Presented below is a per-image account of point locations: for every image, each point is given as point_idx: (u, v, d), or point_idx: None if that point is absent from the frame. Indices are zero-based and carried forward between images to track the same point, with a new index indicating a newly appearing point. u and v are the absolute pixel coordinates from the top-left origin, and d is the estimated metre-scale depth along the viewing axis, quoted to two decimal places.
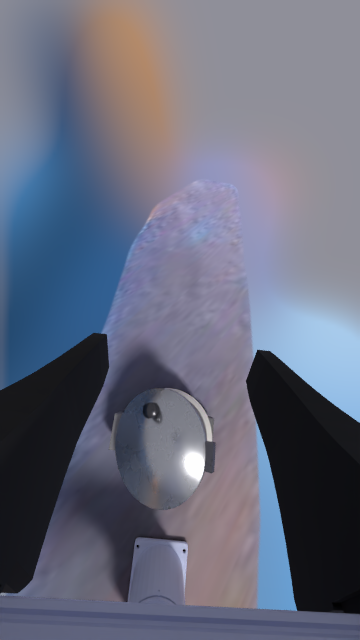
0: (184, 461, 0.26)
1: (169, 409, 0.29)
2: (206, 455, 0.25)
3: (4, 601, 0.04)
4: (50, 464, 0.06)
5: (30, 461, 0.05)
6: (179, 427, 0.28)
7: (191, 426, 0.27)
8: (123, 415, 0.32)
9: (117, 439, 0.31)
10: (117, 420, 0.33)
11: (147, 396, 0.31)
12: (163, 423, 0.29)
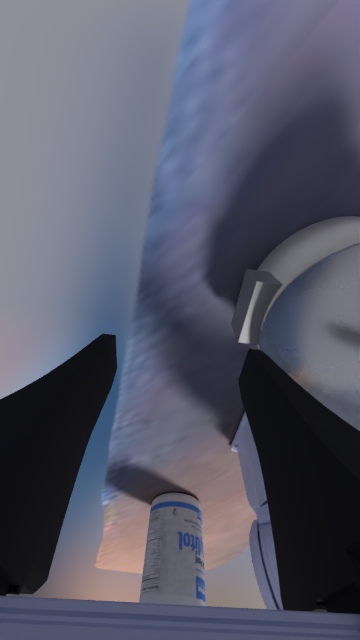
0: None
1: None
2: None
3: (4, 601, 0.04)
4: (64, 465, 0.06)
5: (47, 462, 0.05)
6: None
7: None
8: (289, 291, 0.13)
9: (265, 334, 0.15)
10: (260, 295, 0.15)
11: None
12: None
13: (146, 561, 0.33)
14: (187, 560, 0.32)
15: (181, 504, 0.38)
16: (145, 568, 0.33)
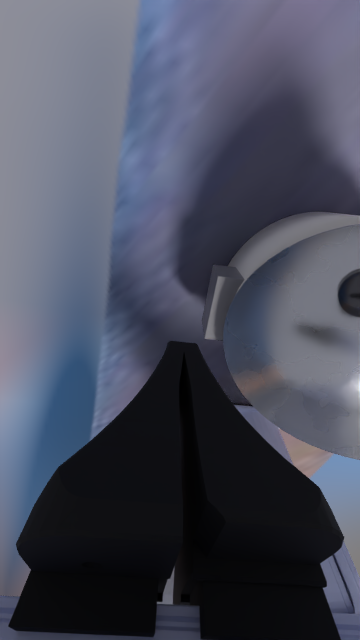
0: None
1: None
2: None
3: (4, 601, 0.04)
4: None
5: None
6: None
7: None
8: (247, 286, 0.13)
9: (228, 329, 0.15)
10: (223, 290, 0.15)
11: (349, 246, 0.10)
12: None
13: None
14: None
15: None
16: None
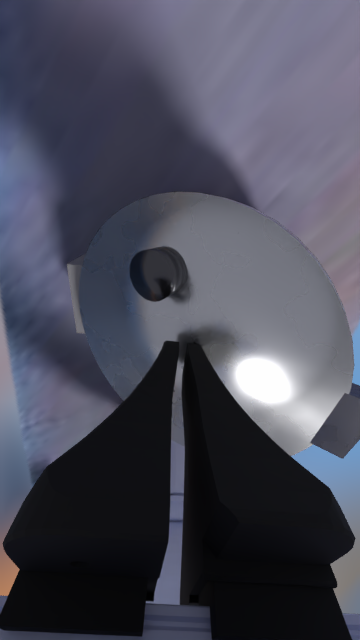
0: (256, 408, 0.10)
1: (225, 276, 0.08)
2: (340, 423, 0.08)
3: (4, 601, 0.04)
4: None
5: None
6: (255, 334, 0.08)
7: (307, 344, 0.08)
8: (84, 273, 0.12)
9: (85, 322, 0.14)
10: (77, 280, 0.14)
11: (142, 223, 0.09)
12: (199, 313, 0.09)
13: None
14: None
15: None
16: None
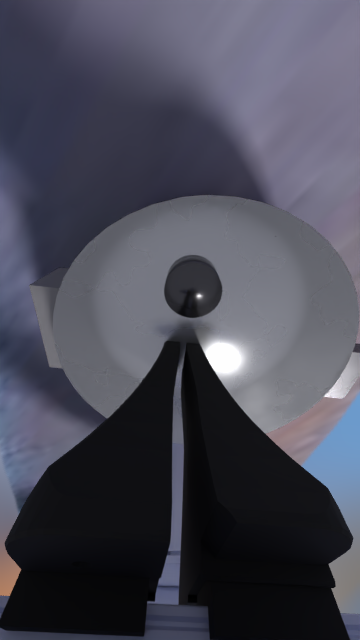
0: (280, 386, 0.11)
1: (260, 277, 0.08)
2: (344, 374, 0.11)
3: (4, 601, 0.04)
4: None
5: None
6: (284, 324, 0.09)
7: (327, 323, 0.09)
8: (64, 299, 0.09)
9: (66, 359, 0.11)
10: (45, 304, 0.10)
11: (161, 231, 0.08)
12: (230, 317, 0.09)
13: None
14: None
15: None
16: None
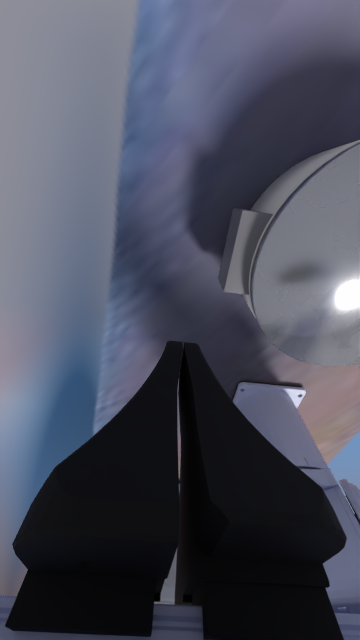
0: None
1: None
2: None
3: (4, 601, 0.04)
4: None
5: None
6: None
7: None
8: (287, 215, 0.11)
9: (260, 275, 0.13)
10: (248, 229, 0.13)
11: None
12: None
13: None
14: None
15: None
16: None
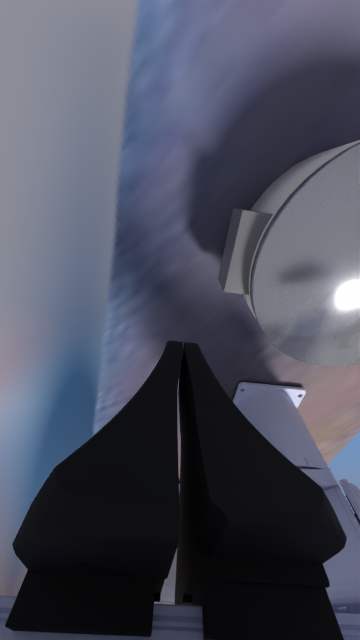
0: None
1: None
2: None
3: (4, 601, 0.04)
4: None
5: None
6: None
7: None
8: (287, 215, 0.11)
9: (260, 275, 0.13)
10: (248, 229, 0.13)
11: None
12: None
13: None
14: None
15: None
16: None
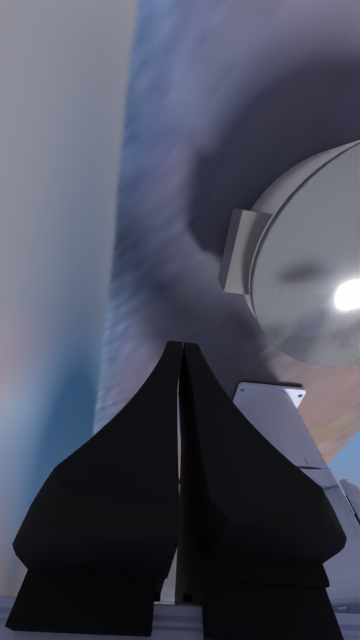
0: None
1: None
2: None
3: (4, 601, 0.04)
4: None
5: None
6: None
7: None
8: (287, 215, 0.11)
9: (260, 275, 0.13)
10: (248, 229, 0.13)
11: None
12: None
13: None
14: None
15: None
16: None
